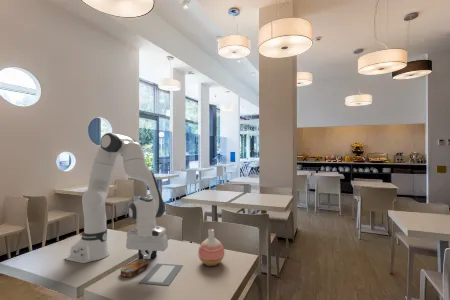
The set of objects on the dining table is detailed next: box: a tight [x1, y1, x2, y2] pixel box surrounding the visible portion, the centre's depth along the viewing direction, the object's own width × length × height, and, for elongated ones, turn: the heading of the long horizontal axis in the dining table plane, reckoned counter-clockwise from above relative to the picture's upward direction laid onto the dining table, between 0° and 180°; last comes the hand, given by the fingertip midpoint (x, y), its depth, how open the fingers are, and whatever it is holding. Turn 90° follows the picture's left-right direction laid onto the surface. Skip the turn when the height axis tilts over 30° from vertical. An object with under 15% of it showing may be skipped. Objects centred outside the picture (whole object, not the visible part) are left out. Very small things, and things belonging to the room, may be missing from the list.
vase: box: [197, 228, 225, 267], centre depth 127 cm, size 14×14×18 cm
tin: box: [120, 258, 150, 278], centre depth 120 cm, size 15×3×8 cm
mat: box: [138, 262, 184, 287], centre depth 117 cm, size 14×19×1 cm
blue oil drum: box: [137, 250, 158, 261], centre depth 136 cm, size 10×10×15 cm
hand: (147, 258), depth 118 cm, fingers closed
